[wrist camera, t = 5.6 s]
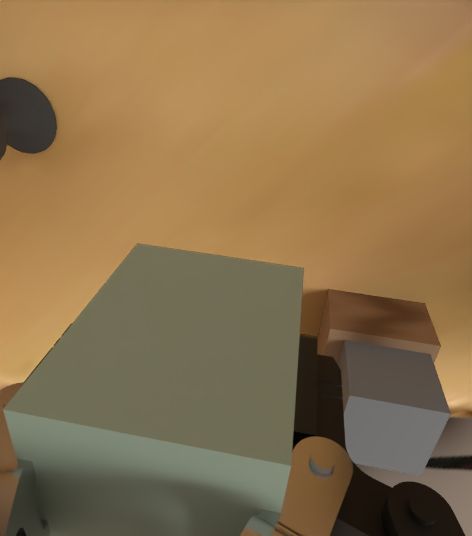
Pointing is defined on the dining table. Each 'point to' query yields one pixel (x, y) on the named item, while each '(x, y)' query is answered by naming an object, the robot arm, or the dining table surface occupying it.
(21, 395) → the block
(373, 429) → the cube
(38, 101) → the sundae
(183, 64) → the dining table surface
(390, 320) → the plinth
